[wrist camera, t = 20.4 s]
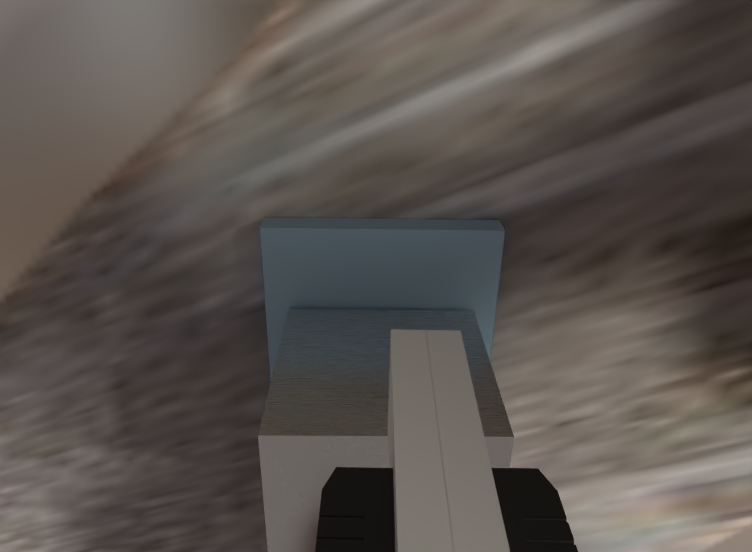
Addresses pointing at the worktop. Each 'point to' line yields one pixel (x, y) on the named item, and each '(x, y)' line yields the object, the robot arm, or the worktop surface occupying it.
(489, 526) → the robot arm
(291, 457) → the block
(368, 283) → the base
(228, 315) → the worktop surface
